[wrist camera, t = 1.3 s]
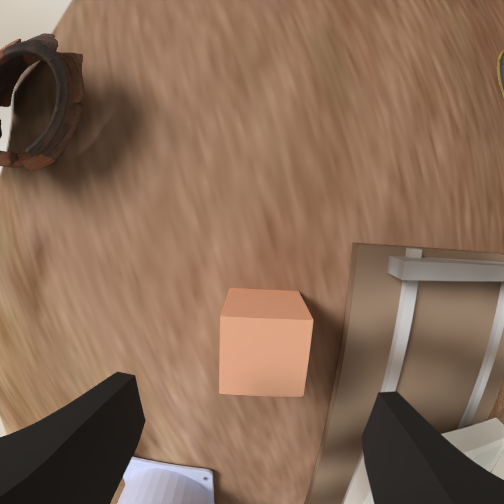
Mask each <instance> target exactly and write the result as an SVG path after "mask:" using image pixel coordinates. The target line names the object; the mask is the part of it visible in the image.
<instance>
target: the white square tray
mask: <svg viewBox="0 0 504 504" xmlns="http://www.w3.org/2000/svg"><path fill="white" fill-rule="evenodd" d="M441 435H442V436H444V437H445V438H446V439H447V440H448V441H449V442H450V443H451V444H453V445H454V446H455V447H456V448H457V449H459V450H460V451H461V452H462V453H464V454H465V455H466V456H467V457H469V458H470V459H471V460H473V461H474V462H475V463H477V464H478V465H480V466H481V467H483V468H484V469H486V470H487V471H489V472H491V471H492V469H493V467H494V466H495V464H496V463H497V461H498V459H499V458H500V456H501V454H502V452H503V451H504V425H503V424H502V423H501V422H500V421H499V420H498V419H497V418H493V419H491V420H488V421H485V422H482V423H478V424H477V423H473V424H470V425H467V426H465V428H462V429H458V430H455V431H451V432H447V433H443V434H441ZM344 504H374V501H373V496H372V492H371V488H370V484H369V480H368V476H367V472H366V468H365V463H364V455H363V457H362V459H361V462H360V465H359V467H358V470H357V473H356V475H355V478H354V480H353V483H352V485H351V487H350V490H349V492H348V495H347V497H346V499H345V501H344Z"/></svg>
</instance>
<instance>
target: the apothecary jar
mask: <svg viewBox="0 0 504 504" xmlns="http://www.w3.org/2000/svg"><path fill="white" fill-rule="evenodd" d="M497 74H498V80H499V85H500V88H501V92H502V95H503V98H504V50H503V51H502V52H501V53H500V55H499V57H498V60H497Z"/></svg>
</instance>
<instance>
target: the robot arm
mask: <svg viewBox="0 0 504 504" xmlns="http://www.w3.org/2000/svg"><path fill="white" fill-rule="evenodd" d="M144 424H145V417H144V413H143V409H142V405H141V401H140V396H139V392H138V387H137V382H136V378H135V375H131V374H126V373H121V372H116V373H115V374H113V375H111V376H110V377H108V378H107V379H105V380H104V381H102V382H101V383H99V384H98V385H97V386H95V387H94V388H92V389H91V390H89V391H88V392H86V393H85V394H83V395H82V396H80V397H79V398H77V399H75V400H74V401H72V402H71V403H69V404H68V405H66V406H65V407H63V408H61V409H59V410H58V411H56V412H54V413H52V414H51V415H49V416H47V417H45V418H44V419H42V420H40V421H38V422H36V423H34V424H32V425H30V426H28V427H26V428H23V429H21V430H19V431H16V432H14V433H11V434H9V435H6V436H3V437H0V504H110V503H111V500H112V498H113V496H114V494H115V492H116V490H117V487H118V485H119V483H120V481H121V479H122V477H123V478H124V481H125V484H126V485H125V487H124V489H123V492H122V494H121V496H120V498H119V500H118V503H117V504H214V483H213V472H212V471H211V470H209V469H203V468H195V467H187V466H180V465H174V464H168V463H162V462H156V461H151V460H146V459H141V458H137V457H133V454H134V452H135V450H136V448H137V446H138V443H139V440H140V437H141V434H142V430H143V427H144ZM362 446H363V455H364V463H365V468H366V472H367V476H368V480H369V484H370V488H371V492H372V496H373V501H374V504H504V480H502V479H501V478H499V477H497V476H495V475H494V474H492V473H490V472H489V471H487V470H486V469H484V468H483V467H481V466H480V465H478V464H477V463H475V462H474V461H473V460H471V459H470V458H469V457H467V456H466V455H465V454H464V453H462V452H461V451H460V450H459V449H457V448H456V447H455V446H454V445H453V444H451V443H450V442H449V441H448V440H447V439H446V438H445V437H444V436H442V435H441V434H440V433H439V432H438V431H437V430H436V429H435V428H434V427H433V426H432V425H431V424H430V423H429V422H428V421H427V420H426V419H425V418H424V417H423V416H422V415H420V414H419V413H418V412H417V411H416V410H415V409H414V408H413V407H412V406H411V405H410V404H409V403H408V402H407V401H406V400H405V399H404V398H403V397H402V396H401V395H400V394H399V393H398V392H397V391H392V392H378V394H377V397H376V400H375V403H374V406H373V408H372V411H371V414H370V416H369V419H368V422H367V424H366V427H365V429H364V432H363V434H362ZM206 477H207V478H206Z"/></svg>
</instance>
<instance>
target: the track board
mask: <svg viewBox="0 0 504 504" xmlns="http://www.w3.org/2000/svg"><path fill="white" fill-rule="evenodd" d="M503 381H504V254H501V253H489V252H477V251H464V250H451V249H437V248H423V247H409V246H394V245H379V244H364V243H353V246H352V258H351V268H350V278H349V287H348V296H347V304H346V311H345V319H344V326H343V333H342V340H341V346H340V352H339V358H338V364H337V370H336V375H335V381H334V386H333V391H332V396H331V401H330V406H329V411H328V415H327V420H326V424H325V429H324V433H323V437H322V442H321V446H320V450H319V454H318V458H317V461H316V465H315V469H314V473H313V476H312V480H311V483H310V487H309V490H308V494H307V497H306V500H305V504H344V501H345V499H346V497H347V495H348V492H349V490H350V487H351V485H352V483H353V480H354V478H355V475H356V473H357V470H358V467H359V465H360V462H361V459H362V457H363V446H362V434H363V432H364V429H365V427H366V424H367V422H368V419H369V416H370V414H371V411H372V408H373V406H374V403H375V400H376V397H377V394H378V392H392V391H397V392H398V393H399V394H400V395H401V396H402V397H403V398H404V399H405V400H406V401H407V402H408V403H409V404H410V405H411V406H412V407H413V408H414V409H415V410H416V411H417V412H418V413H419V414H420V415H422V416H423V417H424V418H425V419H426V420H427V421H428V422H429V423H430V424H431V425H432V426H433V427H434V428H435V429H436V430H437V431H438V432H439V433H440V434H443V433H447V432H451V431H455V430H458V429H462V428H465V426H467V425H470V424H473V423H477V424H478V423H482V422H485V421H487V420H488V418H489V415H490V413H491V411H492V408H493V406H494V404H495V401H496V399H497V396H498V394H499V391H500V389H501V386H502V383H503Z"/></svg>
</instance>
